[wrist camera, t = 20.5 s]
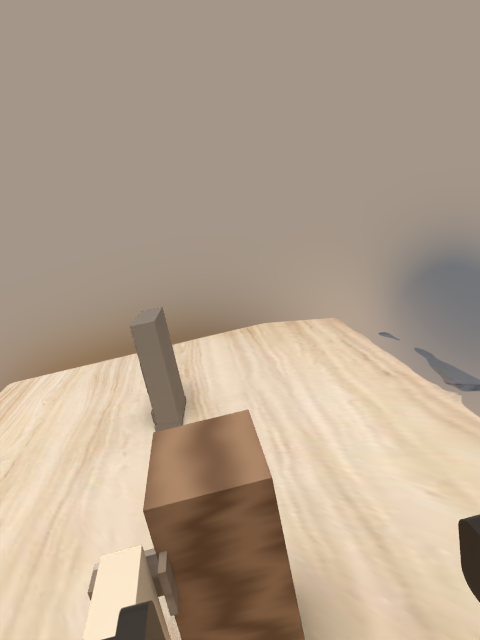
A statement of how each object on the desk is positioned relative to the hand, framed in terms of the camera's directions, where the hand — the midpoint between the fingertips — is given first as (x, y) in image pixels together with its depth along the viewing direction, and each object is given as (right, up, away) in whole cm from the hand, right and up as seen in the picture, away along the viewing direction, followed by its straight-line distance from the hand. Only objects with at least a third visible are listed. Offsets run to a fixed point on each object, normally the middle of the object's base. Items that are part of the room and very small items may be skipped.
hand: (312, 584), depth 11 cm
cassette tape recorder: (-18, -16, +90) cm, 94 cm away
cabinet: (-2, -29, +30) cm, 42 cm away
